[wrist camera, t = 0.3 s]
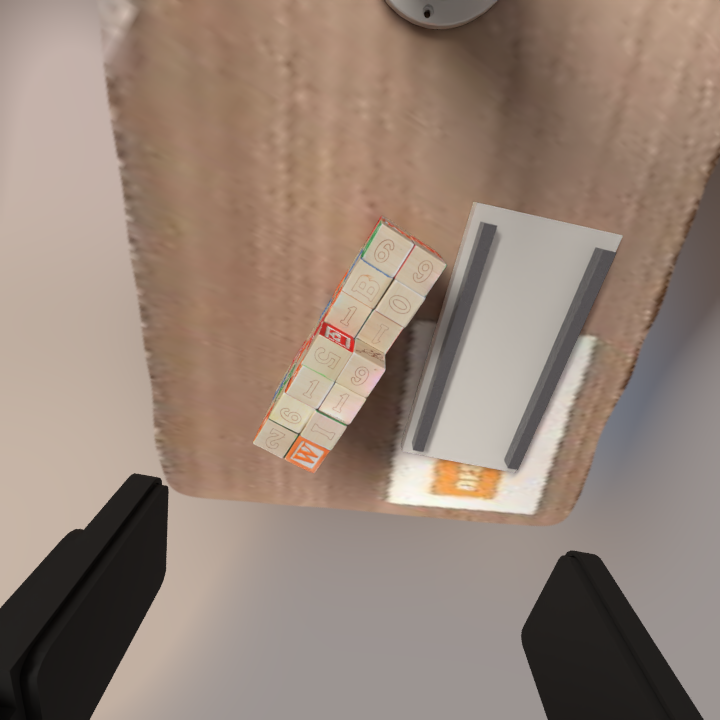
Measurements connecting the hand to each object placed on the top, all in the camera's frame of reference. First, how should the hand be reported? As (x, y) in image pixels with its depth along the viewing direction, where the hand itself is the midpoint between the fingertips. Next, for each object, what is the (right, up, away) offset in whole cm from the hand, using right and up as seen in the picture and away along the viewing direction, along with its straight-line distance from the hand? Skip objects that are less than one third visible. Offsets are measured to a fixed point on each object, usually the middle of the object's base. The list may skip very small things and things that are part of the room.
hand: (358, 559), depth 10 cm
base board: (+15, +6, +34) cm, 38 cm away
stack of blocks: (-1, +9, +34) cm, 35 cm away
